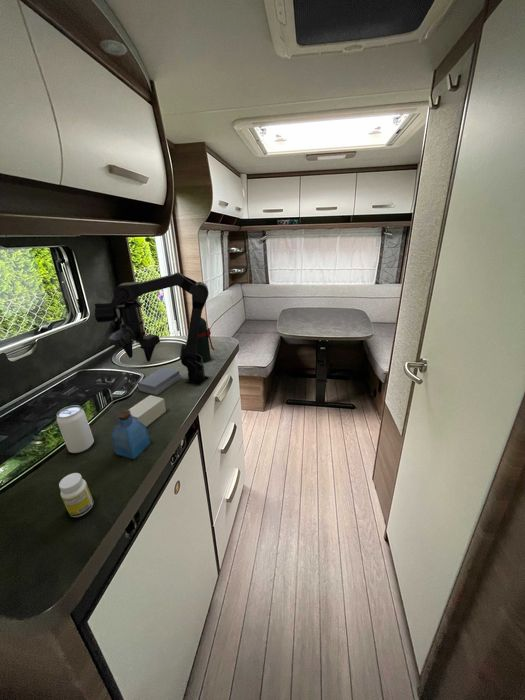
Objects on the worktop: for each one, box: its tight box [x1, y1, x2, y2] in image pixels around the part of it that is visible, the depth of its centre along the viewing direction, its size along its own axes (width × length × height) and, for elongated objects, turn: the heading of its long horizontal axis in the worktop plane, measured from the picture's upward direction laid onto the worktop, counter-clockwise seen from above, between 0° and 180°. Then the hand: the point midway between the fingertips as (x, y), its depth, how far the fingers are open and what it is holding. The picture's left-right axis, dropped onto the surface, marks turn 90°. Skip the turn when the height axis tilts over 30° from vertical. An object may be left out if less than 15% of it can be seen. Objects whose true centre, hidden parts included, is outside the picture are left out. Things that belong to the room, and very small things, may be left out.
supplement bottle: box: [58, 472, 94, 518], centre depth 60 cm, size 5×5×8 cm
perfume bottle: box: [110, 409, 151, 460], centre depth 76 cm, size 6×6×12 cm
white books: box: [141, 403, 167, 428], centre depth 90 cm, size 11×6×3 cm, turn 156°
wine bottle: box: [196, 317, 215, 364], centre depth 126 cm, size 8×10×30 cm
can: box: [56, 404, 95, 454], centre depth 77 cm, size 6×6×12 cm
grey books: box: [137, 367, 182, 396], centre depth 110 cm, size 14×9×4 cm, turn 156°
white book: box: [128, 394, 166, 422], centre depth 89 cm, size 11×6×2 cm, turn 156°
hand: (139, 359), depth 105 cm, fingers open, 9 cm apart
